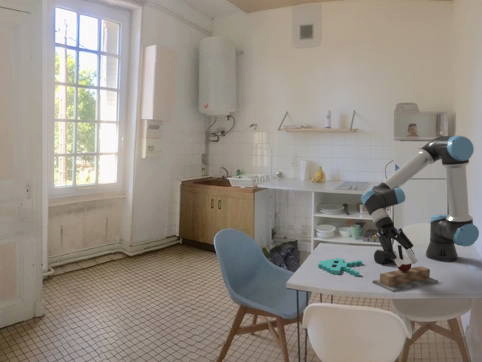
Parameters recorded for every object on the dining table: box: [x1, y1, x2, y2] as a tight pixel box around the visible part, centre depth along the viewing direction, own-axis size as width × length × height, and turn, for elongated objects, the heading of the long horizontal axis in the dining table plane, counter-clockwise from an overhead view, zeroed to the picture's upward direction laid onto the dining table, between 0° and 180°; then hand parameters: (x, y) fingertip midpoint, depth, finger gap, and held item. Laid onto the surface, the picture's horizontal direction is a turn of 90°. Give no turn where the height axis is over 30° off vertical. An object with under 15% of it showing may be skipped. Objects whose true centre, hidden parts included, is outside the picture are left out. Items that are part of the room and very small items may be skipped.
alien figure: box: [317, 257, 363, 278], centre depth 199 cm, size 20×2×20 cm
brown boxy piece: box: [372, 266, 439, 293], centre depth 177 cm, size 26×12×5 cm, turn 113°
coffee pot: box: [373, 249, 396, 265], centre depth 202 cm, size 8×18×8 cm
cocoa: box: [395, 244, 413, 271], centre depth 176 cm, size 10×6×12 cm, turn 111°
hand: (408, 263), depth 173 cm, fingers closed on cocoa, 8 cm apart
